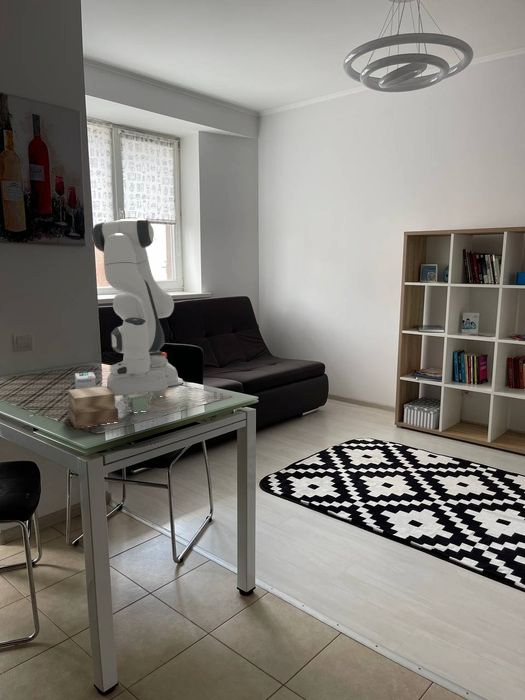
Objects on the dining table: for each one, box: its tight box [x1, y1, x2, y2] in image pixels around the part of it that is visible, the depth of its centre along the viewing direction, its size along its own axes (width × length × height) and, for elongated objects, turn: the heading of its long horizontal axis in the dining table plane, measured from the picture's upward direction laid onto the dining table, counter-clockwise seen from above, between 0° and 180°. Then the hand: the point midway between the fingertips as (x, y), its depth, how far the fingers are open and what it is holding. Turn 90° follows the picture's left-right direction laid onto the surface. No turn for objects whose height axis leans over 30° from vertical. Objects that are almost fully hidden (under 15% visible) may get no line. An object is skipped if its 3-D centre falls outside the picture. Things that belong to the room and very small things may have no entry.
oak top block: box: [67, 385, 116, 414], centre depth 165 cm, size 12×12×5 cm
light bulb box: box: [74, 371, 97, 389], centre depth 186 cm, size 11×7×11 cm, turn 23°
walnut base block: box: [67, 404, 120, 429], centre depth 166 cm, size 13×13×5 cm
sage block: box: [128, 394, 149, 413], centre depth 177 cm, size 5×5×5 cm
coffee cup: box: [146, 356, 169, 398], centre depth 198 cm, size 10×10×15 cm
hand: (138, 405), depth 177 cm, fingers closed on sage block, 5 cm apart
